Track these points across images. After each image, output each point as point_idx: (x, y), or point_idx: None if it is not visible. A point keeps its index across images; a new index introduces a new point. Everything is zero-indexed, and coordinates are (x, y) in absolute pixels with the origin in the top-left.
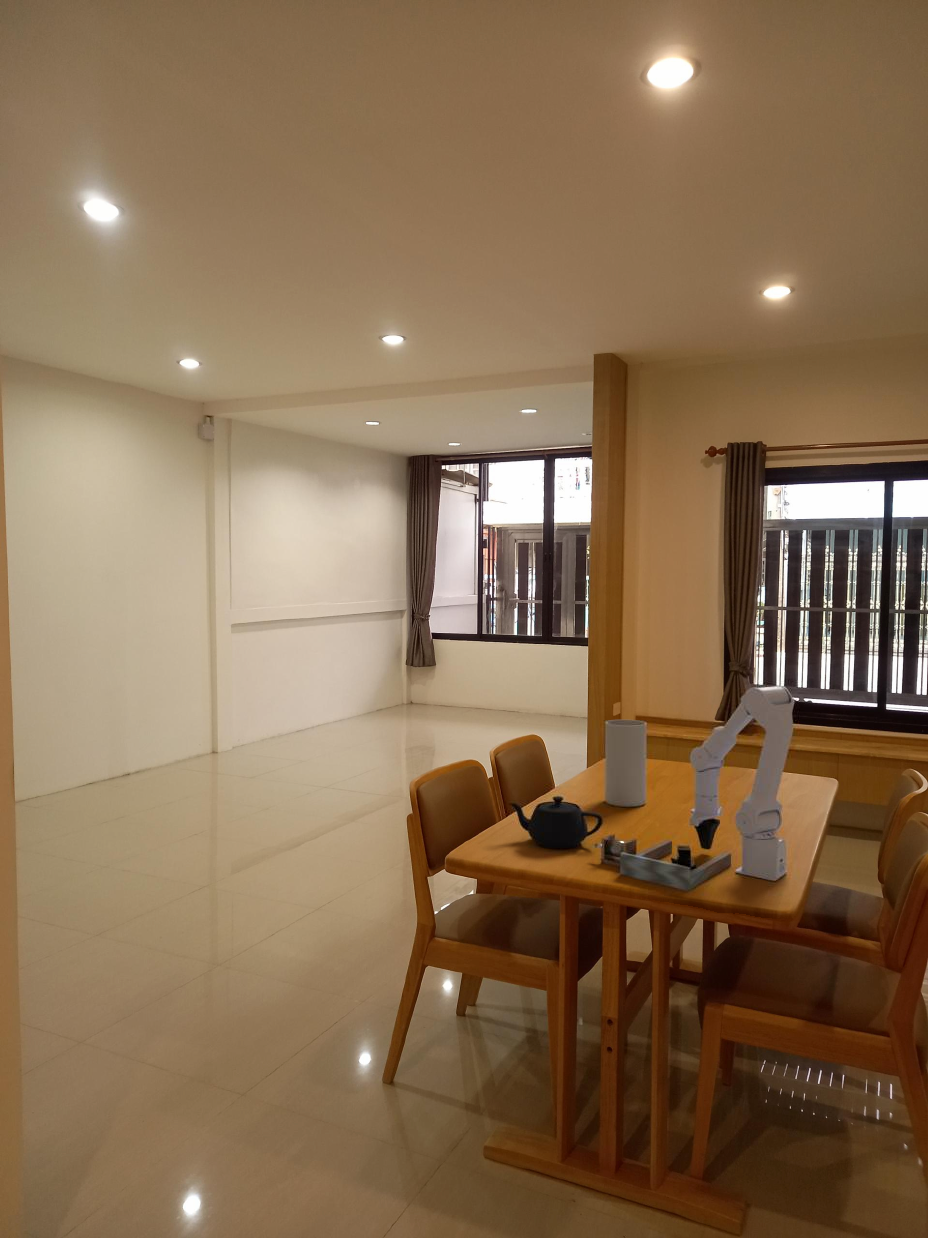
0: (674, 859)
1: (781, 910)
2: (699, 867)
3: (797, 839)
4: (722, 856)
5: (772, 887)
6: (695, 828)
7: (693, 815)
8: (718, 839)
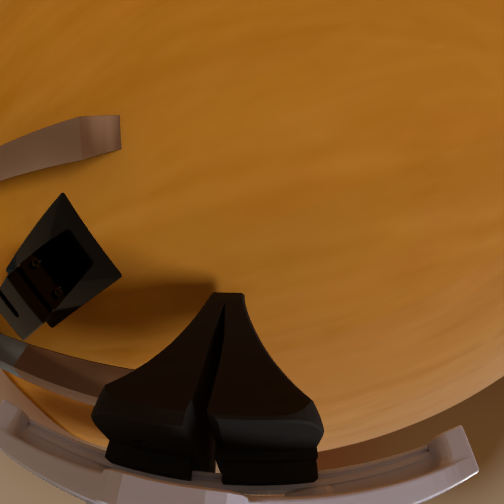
0: (49, 225)
1: (73, 434)
2: (9, 367)
3: (486, 375)
4: None
5: None
6: (138, 369)
7: (25, 465)
8: (476, 241)
